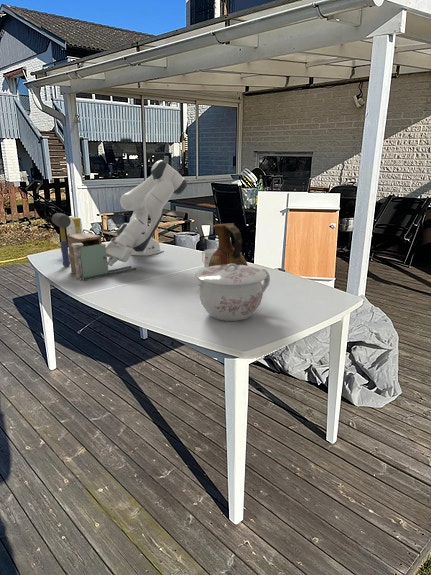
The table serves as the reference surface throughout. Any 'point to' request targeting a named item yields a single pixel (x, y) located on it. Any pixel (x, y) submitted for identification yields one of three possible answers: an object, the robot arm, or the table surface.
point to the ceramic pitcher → (227, 246)
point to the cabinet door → (93, 260)
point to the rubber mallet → (62, 234)
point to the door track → (111, 272)
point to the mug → (207, 256)
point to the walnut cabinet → (74, 252)
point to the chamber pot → (231, 290)
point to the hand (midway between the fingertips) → (108, 265)
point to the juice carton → (74, 226)
